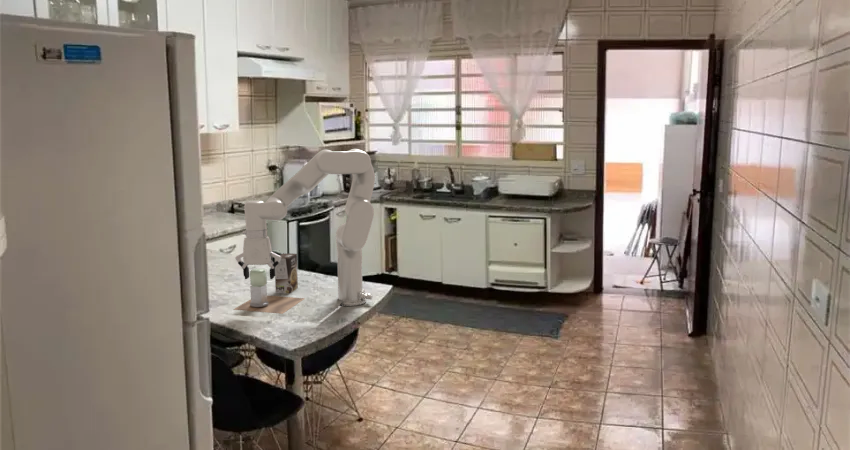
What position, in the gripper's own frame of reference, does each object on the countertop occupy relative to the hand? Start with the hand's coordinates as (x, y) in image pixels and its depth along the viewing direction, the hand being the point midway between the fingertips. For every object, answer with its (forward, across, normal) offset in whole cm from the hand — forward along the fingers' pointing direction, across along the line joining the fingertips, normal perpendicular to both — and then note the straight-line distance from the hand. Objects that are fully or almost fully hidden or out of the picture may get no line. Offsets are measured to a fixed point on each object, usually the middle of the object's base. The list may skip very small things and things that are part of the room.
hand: (259, 278), depth 260 cm
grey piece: (+11, -1, 0) cm, 11 cm away
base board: (+12, +3, +2) cm, 13 cm away
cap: (+3, 0, 0) cm, 3 cm away
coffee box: (+13, +4, +21) cm, 25 cm away
